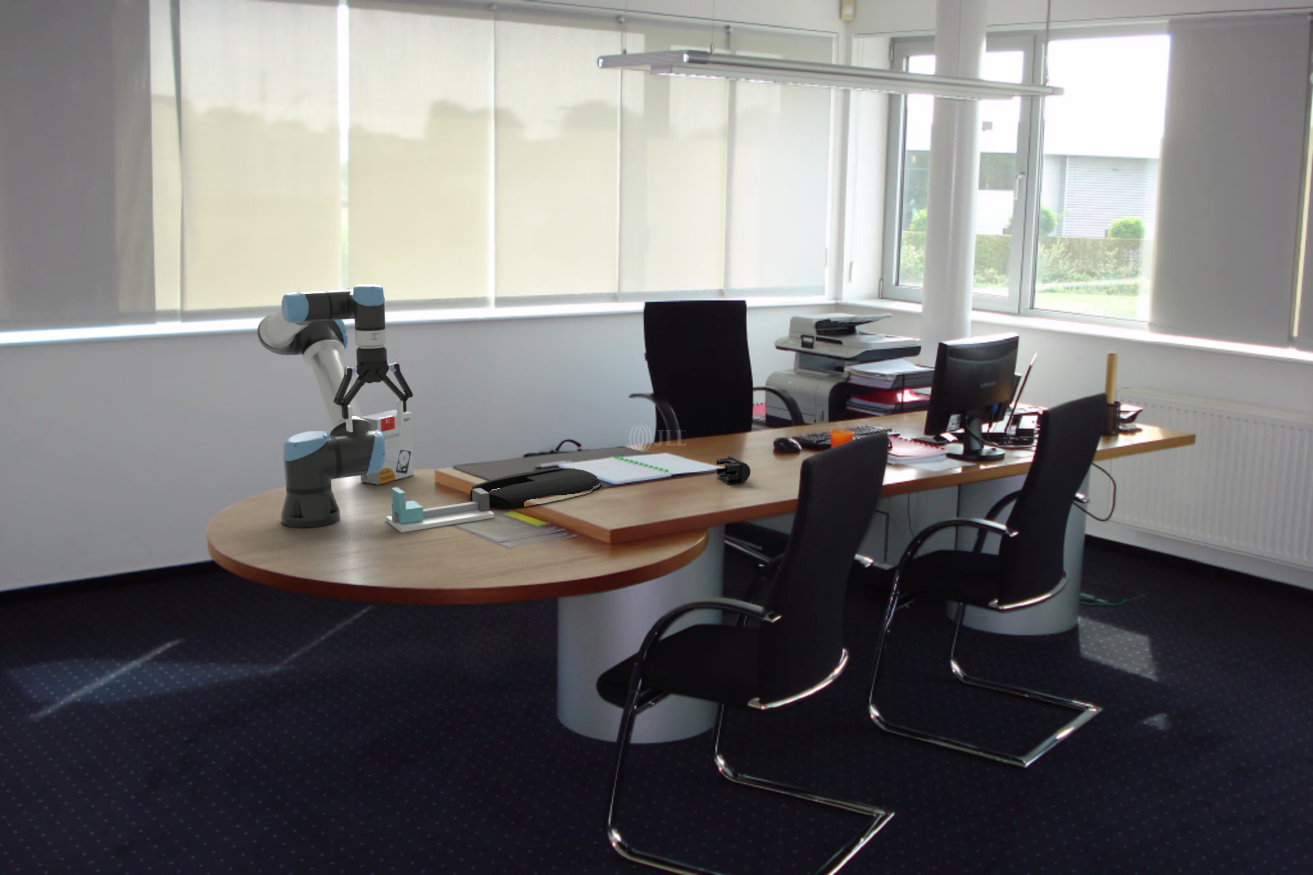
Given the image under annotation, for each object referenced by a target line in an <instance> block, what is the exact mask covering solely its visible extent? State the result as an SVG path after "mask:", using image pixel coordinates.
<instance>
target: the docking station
mask: <svg viewBox="0 0 1313 875" xmlns="http://www.w3.org/2000/svg"><path fill="white" fill-rule="evenodd" d="M597 477H598V476H597V475H595V474H594V473H592V472H590V471H587V470H585V469H579V468H578V469H577V468H575V467H573V468H572V467H566V468H551V469H541V470H533V471H527V472H522V473H521V472H520V473H514V474H511V475H506V476H501V477H498V478H494V479H489V480H486V481H483V482H480V483H477V484H473V485H472V486H471V489H470V490H469V491H470V492H469V493H470V500H473V498H472V489H477V488H481V489H483V490H485V491H487V492H488V493H489V507H491V508H492V507H493V508H501V509H509V510H511V509H514V510H515V509H520V508H522V509H523V508H525V507H524V502H525V501H527V500H530V499H536V498H540V497H541V498H542V497H544V496H549V495H567V494H575V493H580V492H582V491H585V490H590V489H592V488H593V486H596V485H598V484H599V483H600V481H601V480H600V481H599V479H600V478H599V479H597ZM497 488H500V489H497ZM492 489H497V490H493V491H491V490H492ZM490 491H491V492H490Z"/></svg>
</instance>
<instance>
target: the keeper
mask: <svg viewBox="0 0 1313 875" xmlns="http://www.w3.org/2000/svg"><path fill="white" fill-rule="evenodd" d="M391 500H392V503H391V512H392V514H394V513H397V514H399V522H400V523H401V524H403V523H410V522H416V521H423V509H424V506H422V505H421V504H419V503H418V502H416V500H408V501H406V492H405V491H404V490H402V489H400V487H391ZM392 514H391V515H392Z"/></svg>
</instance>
